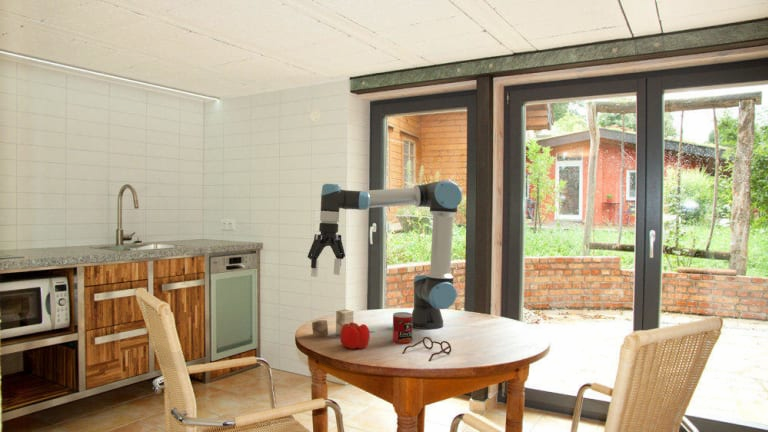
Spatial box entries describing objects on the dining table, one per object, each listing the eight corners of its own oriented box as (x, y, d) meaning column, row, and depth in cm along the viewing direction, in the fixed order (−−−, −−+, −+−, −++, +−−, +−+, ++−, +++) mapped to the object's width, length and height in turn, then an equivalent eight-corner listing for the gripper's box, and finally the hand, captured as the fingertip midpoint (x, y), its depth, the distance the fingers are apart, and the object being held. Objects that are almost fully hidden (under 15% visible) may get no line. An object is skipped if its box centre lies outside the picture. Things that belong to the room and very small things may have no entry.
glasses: (451, 355, 188) (452, 341, 188) (429, 362, 178) (429, 348, 178) (424, 348, 197) (424, 335, 197) (401, 355, 188) (401, 341, 188)
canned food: (398, 345, 199) (399, 316, 199) (389, 340, 206) (389, 312, 206) (415, 342, 203) (416, 315, 203) (405, 338, 210) (406, 311, 210)
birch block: (353, 335, 213) (353, 310, 212) (344, 337, 209) (345, 312, 208) (344, 333, 216) (344, 309, 216) (335, 335, 212) (336, 311, 212)
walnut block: (328, 334, 212) (327, 320, 213) (322, 337, 208) (321, 322, 208) (318, 334, 214) (317, 320, 214) (313, 337, 210) (311, 322, 210)
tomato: (333, 348, 194) (334, 324, 194) (355, 342, 203) (356, 319, 203) (354, 353, 187) (354, 328, 187) (376, 347, 196) (376, 323, 196)
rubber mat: (375, 332, 219) (375, 331, 219) (344, 341, 204) (344, 340, 204) (355, 328, 226) (355, 327, 226) (324, 336, 211) (324, 335, 211)
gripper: (341, 222, 219) (338, 272, 219) (300, 221, 198) (297, 276, 198) (355, 223, 214) (352, 274, 214) (315, 222, 194) (311, 278, 194)
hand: (325, 275), depth 206 cm, fingers open, 13 cm apart
